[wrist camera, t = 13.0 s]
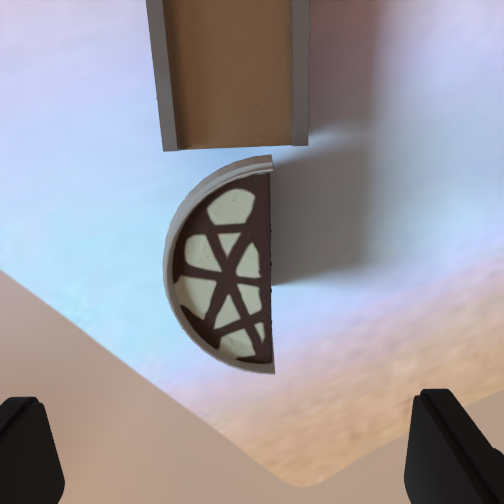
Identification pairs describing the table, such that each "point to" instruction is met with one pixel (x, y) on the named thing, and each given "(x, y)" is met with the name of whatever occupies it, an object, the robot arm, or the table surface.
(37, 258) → the table surface
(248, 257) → the food container
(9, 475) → the robot arm
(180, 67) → the trolley
